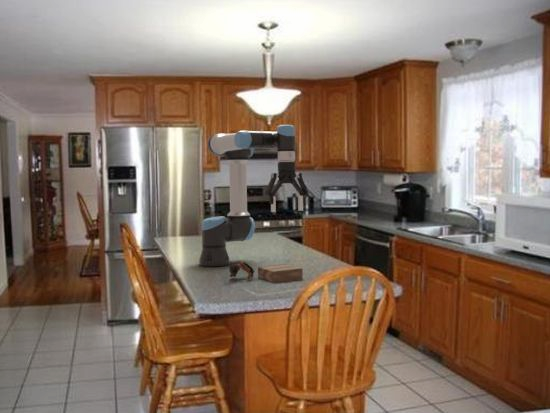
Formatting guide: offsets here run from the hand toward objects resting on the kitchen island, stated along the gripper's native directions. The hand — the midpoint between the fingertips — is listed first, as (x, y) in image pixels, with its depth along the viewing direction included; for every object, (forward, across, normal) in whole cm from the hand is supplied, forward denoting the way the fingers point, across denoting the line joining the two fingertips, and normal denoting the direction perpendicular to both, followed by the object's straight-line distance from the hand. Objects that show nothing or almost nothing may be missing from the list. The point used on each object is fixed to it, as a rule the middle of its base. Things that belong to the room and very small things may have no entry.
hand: (287, 211), depth 241 cm
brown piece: (+29, -21, +9) cm, 37 cm away
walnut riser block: (+29, -3, +1) cm, 30 cm away
